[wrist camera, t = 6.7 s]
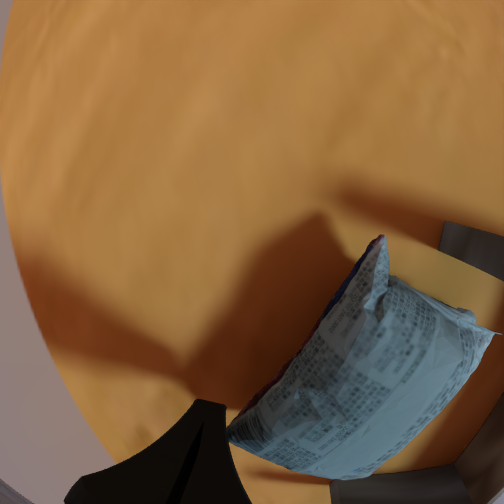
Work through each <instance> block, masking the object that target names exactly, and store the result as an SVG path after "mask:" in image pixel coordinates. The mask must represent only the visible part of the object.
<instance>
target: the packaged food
mask: <svg viewBox="0 0 504 504" xmlns="http://www.w3.org/2000/svg"><path fill="white" fill-rule="evenodd" d="M476 321H477V319H476V317H475V315H474V313H473V312H472V311H470V310H467V309H462V308H457V309H455V308H453V307H451V306H449V305H447V304H444V303H443V302H441V301H438V300H436V299H434V298H432V297H430V296H428V295H426V294H424V293H422V292H420V291H418V290H416V289H414V288H412V287H410V286H409V285H407V284H406V283H404V282H403V281H401V280H400V279H399V278H397V277H396V276H391V275H389V254H388V249H387V245H386V237H385V236H384V235H381V234H380V235H379V236H378V237H377V238H376V239H374V240H372V241H371V242H370V244H369V245H368V246H367V249H366V251H365V253H364V254H363V255H362V256H361V258H360V259H359V260H358V261H357V263H356V264H355V266H354V268H353V270H352V271H351V273H350V274H349V276H348V277H347V278H346V279H345V281H344V282H343V283H342V285H341V286H340V288H339V290H338V291H337V292H336V294H335V295H334V297H333V298H332V299H331V301H330V303H329V304H328V306H327V307H326V309H325V310H324V312H323V313H322V315H321V316H320V318H319V320H318V321H317V323H316V325H315V327H314V328H313V329H312V331H311V333H310V334H309V336H308V338H307V339H306V341H305V342H304V344H303V347H302V349H300V351H299V352H298V353H296V354H295V355H294V356H293V357H292V358H291V359H290V360H289V361H288V362H287V363H286V364H285V365H284V366H283V367H282V369H281V370H280V371H279V372H278V373H277V374H276V376H275V377H274V378H273V379H272V380H271V381H270V382H269V383H268V384H267V385H266V386H265V387H264V388H263V389H262V390H260V391H259V392H258V393H257V394H256V395H255V396H253V399H251V400H250V401H249V403H248V404H247V405H246V407H244V408H243V409H242V410H241V412H240V413H239V414H238V415H237V417H235V418H234V419H233V420H232V422H231V423H230V425H229V426H227V428H226V430H227V437H228V442H230V443H232V444H234V445H236V446H238V447H240V448H242V449H244V450H246V451H248V452H250V453H252V454H254V455H257V456H259V457H261V458H263V459H266V460H268V461H270V462H273V463H275V464H277V465H281V466H284V467H285V468H287V469H289V470H291V471H293V472H299V473H303V474H307V475H313V476H317V477H323V478H328V479H341V480H351V479H357V478H364V477H369V476H370V475H371V474H373V473H374V472H375V471H376V470H377V469H378V468H379V467H380V466H381V465H382V464H383V463H384V462H385V461H387V460H388V459H390V458H391V457H393V456H394V455H396V454H397V453H399V452H400V451H401V450H402V449H403V448H404V447H405V446H407V445H408V444H409V443H410V442H411V441H412V440H413V439H414V438H415V437H416V436H417V435H418V434H419V433H420V432H421V431H422V430H423V429H424V428H425V427H426V426H427V425H428V424H429V423H430V422H431V421H432V420H433V419H434V418H435V417H436V416H437V415H438V414H439V413H440V412H441V411H442V410H443V409H444V408H445V406H446V405H447V404H448V403H449V402H450V401H451V400H452V399H453V397H454V396H455V395H456V394H457V393H458V391H459V390H460V389H461V388H462V387H463V385H464V384H465V383H466V382H467V380H468V378H469V376H470V375H471V374H472V373H473V372H474V371H475V369H476V368H477V366H478V364H479V363H480V362H481V358H482V357H483V353H484V352H485V350H486V348H487V347H488V345H489V344H490V342H491V339H492V337H493V336H494V334H495V333H496V334H500V335H502V334H501V333H497V332H495V331H490V330H488V329H487V328H484V327H481V326H478V325H477V324H476V323H475V322H476Z"/></svg>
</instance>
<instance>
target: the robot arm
mask: <svg viewBox="0 0 504 504" xmlns="http://www.w3.org/2000/svg"><path fill="white" fill-rule="evenodd" d="M226 408H227V407H226V406H225V405H224V404H219V403H215V402H210V401H206V400H202V399H196V400H195V401H194V403H193V404H192V405H191V407H190V408H189V409H188V411H187V412H186V413H185V414H184V415H183V416H182V417H181V418H180V419H179V421H178V422H177V423H176V424H175V425H174V426H173V427H172V428H170V429H169V430H168V431H167V432H166V433H165V434H164V435H162V436H161V437H160V438H159V439H158V440H156V441H155V442H154V443H153V444H151V445H150V446H148V447H147V448H145V449H144V450H142V451H141V452H139V453H137V454H136V455H134V456H132V457H131V458H129V459H127V460H125V461H123V462H121V463H119V464H116V465H114V466H112V467H110V468H107V469H104V470H102V471H99V472H96V473H92V474H89V475H85V476H82V477H81V478H80V479H79V480H78V481H77V482H76V483H75V484H74V485H73V486H72V488H71V489H70V491H69V492H68V494H67V495H66V497H65V499H64V502H65V504H252V503H251V501H250V499H249V497H248V495H247V493H246V491H245V489H244V487H243V485H242V483H241V481H240V478H239V476H238V473H237V471H236V468H235V465H234V462H233V459H232V455H231V451H230V447H229V442H228V437H227V430H226ZM0 504H34V503H32V502H31V501H29V500H28V499H27V498H25V497H24V496H22V495H21V494H19V493H18V492H17V491H15V490H14V489H13V488H11V487H10V486H9V485H8V484H6V483H5V482H4V481H2V480H1V479H0Z"/></svg>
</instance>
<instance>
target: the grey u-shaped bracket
mask: <svg viewBox="0 0 504 504" xmlns="http://www.w3.org/2000/svg"><path fill="white" fill-rule="evenodd" d="M438 251H441V252H443V253H445V254H447V255H450V256H452V257H454V258H456V259H459V260H461V261H463V262H465V263H467V264H469V265H471V266H474V267H476V268H478V269H480V270H482V271H484V272H486V273H488V274H490V275H492V276H494V277H496V278H498V279H500V280H502V281H504V237H503V236H500V235H496V234H493V233H489V232H485V231H482V230H478V229H474V228H471V227H467V226H463V225H459V224H455V223H451V222H447V221H445V224H444V228H443V233H442V237H441V242H440V246H439V250H438ZM329 487H330V495H331V504H492V503H493V502H494V501H495V500H496V499H497V498H498V497H499V496H500V495H502V493H503V492H504V393H503V394H502V396H501V398H500V399H499V401H498V403H497V404H496V406H495V408H494V409H493V411H492V412H491V414H490V415H489V417H488V419H487V420H486V422H485V423H484V425H483V426H482V427H481V429H480V430H479V432H478V433H477V434H476V436H475V437H474V439H473V440H472V441H471V443H470V444H469V445H468V447H467V448H466V449H465V450H464V452H463V453H462V454H461V456H460V457H459V458H458V459H457V460H456V462H455V463H454V464H450V465H446V466H440V467H435V468H429V469H423V470H416V471H409V472H400V473H390V474H378V475H370V476H369V477H364V478H357V479H351V480H341V479H334V480H333V481H332V483H331V484H330V485H329Z"/></svg>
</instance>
